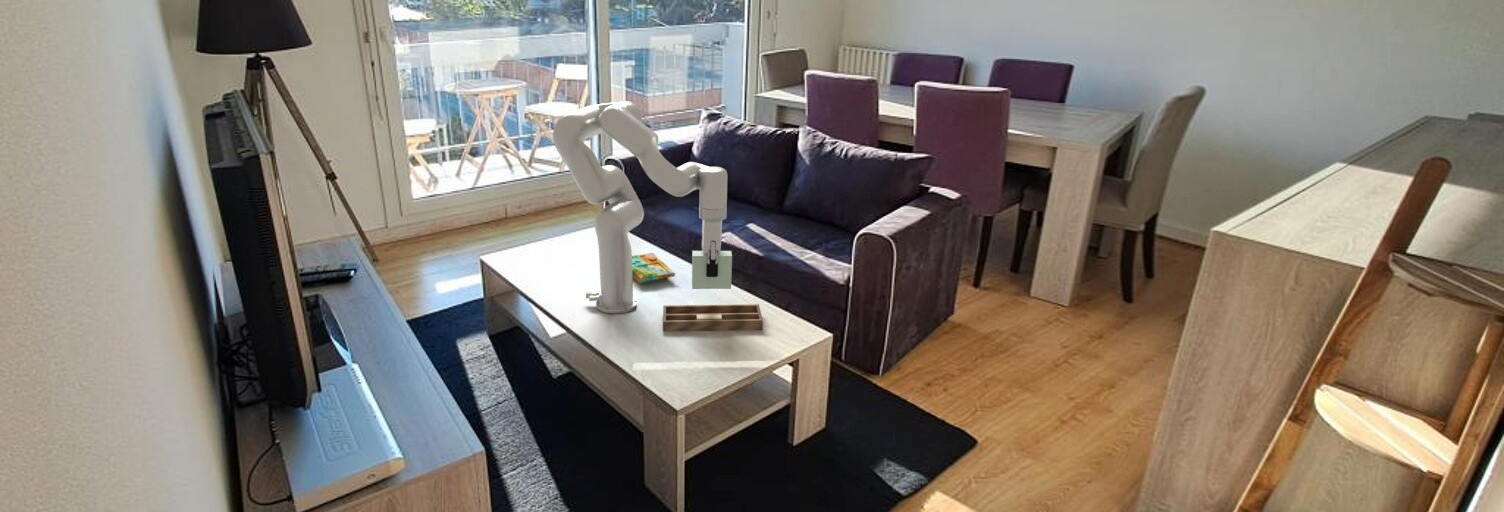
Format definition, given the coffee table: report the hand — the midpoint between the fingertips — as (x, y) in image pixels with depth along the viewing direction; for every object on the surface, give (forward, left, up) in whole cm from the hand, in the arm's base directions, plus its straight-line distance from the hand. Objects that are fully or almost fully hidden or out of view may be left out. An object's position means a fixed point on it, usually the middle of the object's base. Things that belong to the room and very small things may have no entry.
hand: (711, 272), depth 222 cm
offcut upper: (-1, -5, -13) cm, 14 cm away
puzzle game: (-20, +37, -16) cm, 45 cm away
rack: (0, -2, -16) cm, 16 cm away
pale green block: (0, 0, -4) cm, 4 cm away
